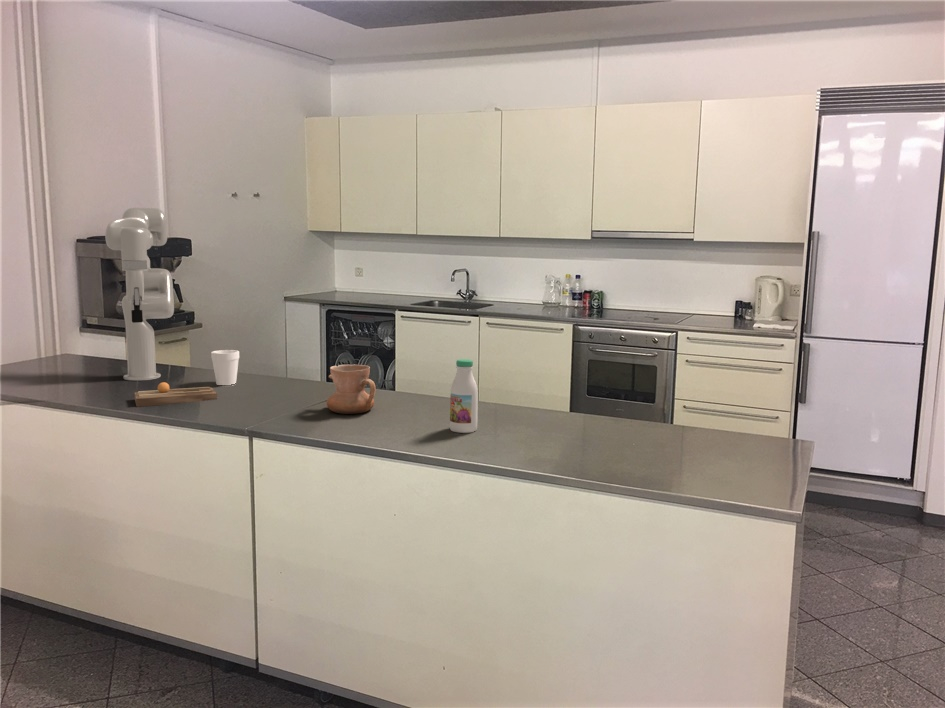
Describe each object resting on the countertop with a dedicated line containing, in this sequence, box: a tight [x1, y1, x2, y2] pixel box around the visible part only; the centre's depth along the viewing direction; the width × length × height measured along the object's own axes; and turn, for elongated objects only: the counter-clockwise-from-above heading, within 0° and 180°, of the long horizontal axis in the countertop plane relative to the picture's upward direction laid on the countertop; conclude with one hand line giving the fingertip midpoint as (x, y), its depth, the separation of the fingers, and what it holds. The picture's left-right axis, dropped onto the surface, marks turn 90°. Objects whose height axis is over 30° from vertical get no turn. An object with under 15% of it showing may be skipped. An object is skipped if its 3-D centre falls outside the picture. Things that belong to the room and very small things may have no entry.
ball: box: [157, 381, 171, 393], centre depth 236 cm, size 4×4×4 cm
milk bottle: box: [449, 358, 479, 434], centre depth 203 cm, size 8×8×20 cm
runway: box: [134, 386, 218, 408], centre depth 237 cm, size 12×24×3 cm, turn 117°
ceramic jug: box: [326, 364, 376, 415], centre depth 223 cm, size 18×14×14 cm
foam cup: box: [210, 349, 240, 386], centre depth 260 cm, size 10×9×13 cm
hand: (137, 322), depth 239 cm, fingers closed
